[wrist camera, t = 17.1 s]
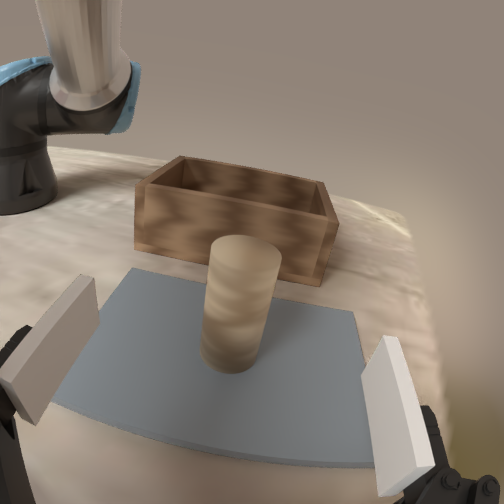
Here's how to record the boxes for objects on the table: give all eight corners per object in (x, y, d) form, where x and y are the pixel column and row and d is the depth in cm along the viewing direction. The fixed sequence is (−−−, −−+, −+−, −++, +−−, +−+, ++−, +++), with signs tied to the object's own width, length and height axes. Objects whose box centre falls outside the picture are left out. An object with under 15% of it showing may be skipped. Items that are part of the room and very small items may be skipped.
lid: (50, 403, 18) (5, 283, 13) (132, 279, 33) (132, 183, 28) (372, 470, 18) (459, 376, 13) (347, 322, 33) (383, 232, 28)
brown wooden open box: (134, 249, 37) (135, 184, 33) (175, 204, 51) (179, 155, 47) (319, 287, 37) (339, 223, 33) (311, 230, 51) (323, 182, 47)
